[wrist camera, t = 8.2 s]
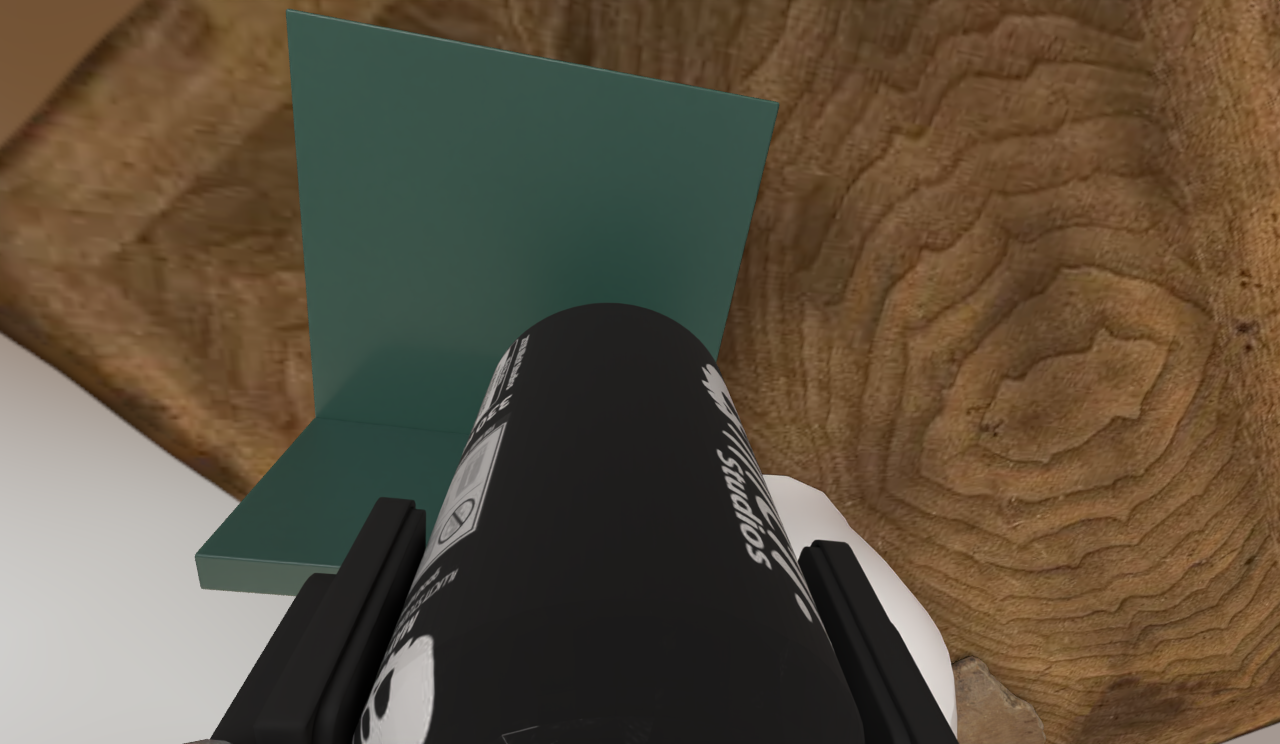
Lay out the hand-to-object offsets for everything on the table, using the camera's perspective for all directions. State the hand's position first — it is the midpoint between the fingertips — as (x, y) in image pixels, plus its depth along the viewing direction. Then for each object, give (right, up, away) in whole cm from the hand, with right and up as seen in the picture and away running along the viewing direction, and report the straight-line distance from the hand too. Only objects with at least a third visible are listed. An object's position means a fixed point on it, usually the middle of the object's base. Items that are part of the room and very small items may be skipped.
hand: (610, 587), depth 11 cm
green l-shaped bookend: (-4, +9, +15) cm, 18 cm away
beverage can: (0, +3, +7) cm, 7 cm away
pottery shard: (+24, -21, +31) cm, 44 cm away
